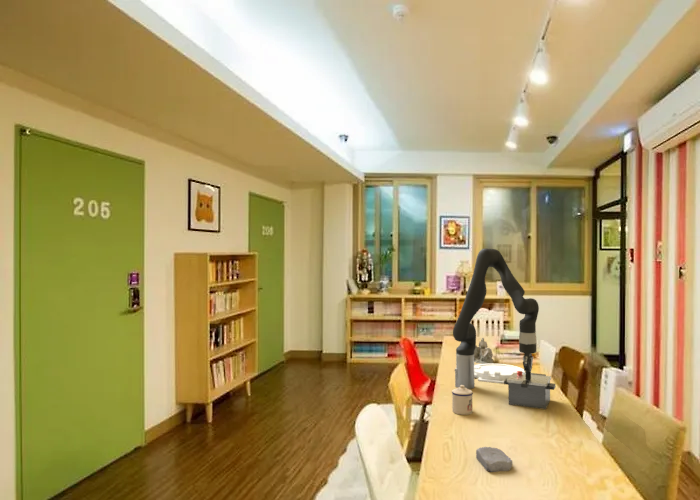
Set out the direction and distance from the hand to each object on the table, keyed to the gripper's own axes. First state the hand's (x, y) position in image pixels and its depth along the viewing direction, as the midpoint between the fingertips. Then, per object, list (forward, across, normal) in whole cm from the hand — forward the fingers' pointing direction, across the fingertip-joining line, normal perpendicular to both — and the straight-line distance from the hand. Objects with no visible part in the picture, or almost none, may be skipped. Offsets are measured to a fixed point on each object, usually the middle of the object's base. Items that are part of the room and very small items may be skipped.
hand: (528, 379), depth 228 cm
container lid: (+12, -50, -25) cm, 57 cm away
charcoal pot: (+11, -4, 0) cm, 12 cm away
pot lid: (+1, -1, 0) cm, 2 cm away
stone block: (+12, +73, +1) cm, 74 cm away
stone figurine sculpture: (+12, -83, -43) cm, 94 cm away
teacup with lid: (+12, +23, -24) cm, 36 cm away
